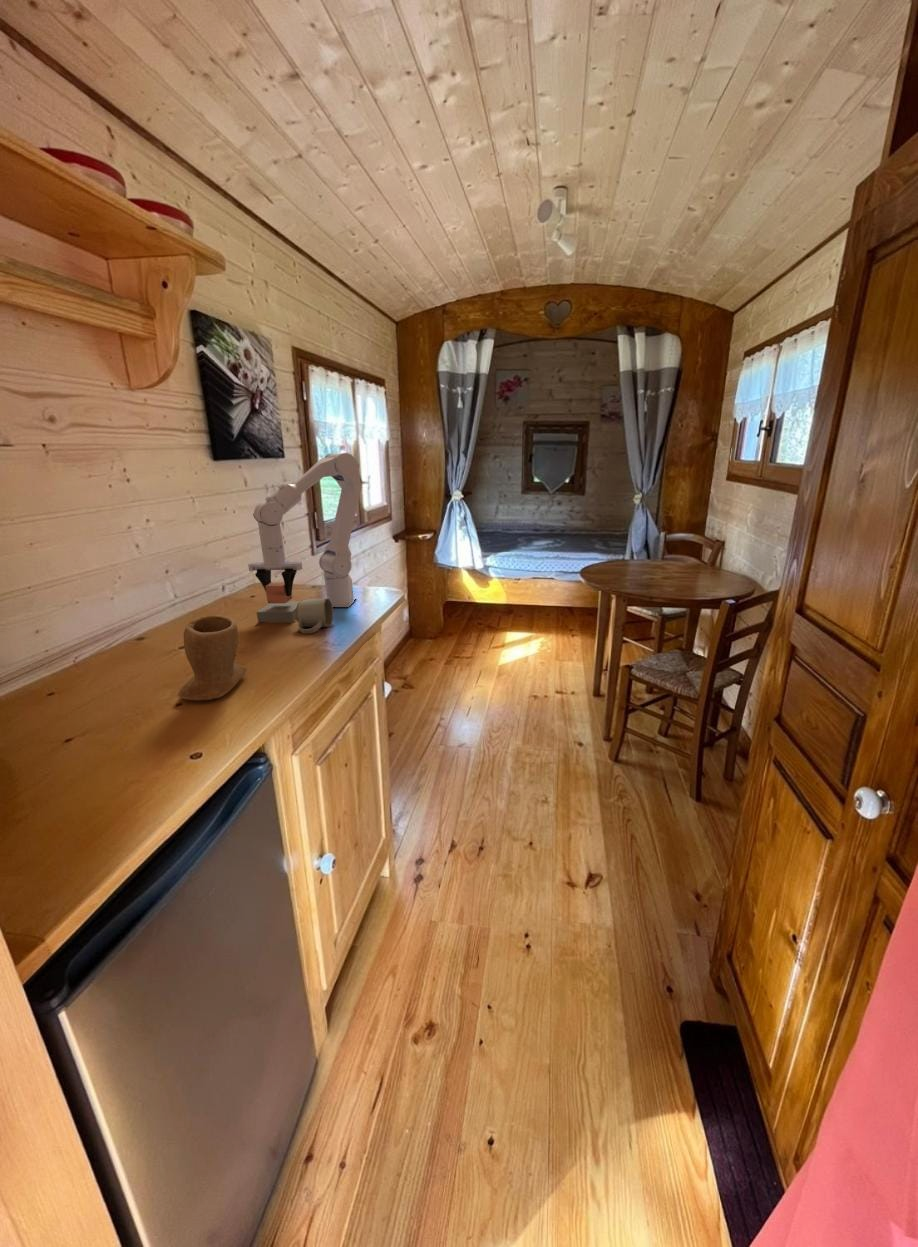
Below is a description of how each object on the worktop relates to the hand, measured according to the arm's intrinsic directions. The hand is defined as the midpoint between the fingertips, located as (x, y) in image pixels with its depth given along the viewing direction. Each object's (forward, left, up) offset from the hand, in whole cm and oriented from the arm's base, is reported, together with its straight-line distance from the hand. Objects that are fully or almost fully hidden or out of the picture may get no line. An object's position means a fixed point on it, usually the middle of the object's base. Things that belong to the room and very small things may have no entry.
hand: (279, 595), depth 153 cm
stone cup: (+47, +6, -7) cm, 48 cm away
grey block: (0, 0, -7) cm, 7 cm away
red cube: (0, 0, -2) cm, 2 cm away
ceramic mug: (+10, +13, -7) cm, 17 cm away
